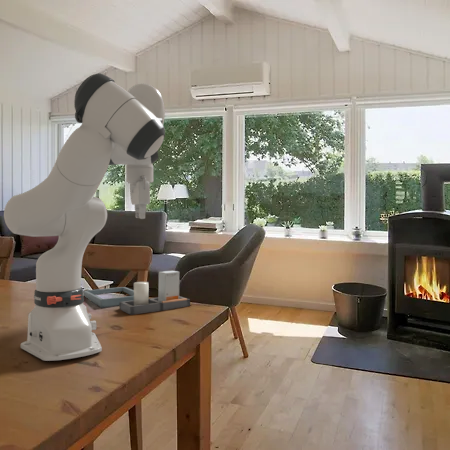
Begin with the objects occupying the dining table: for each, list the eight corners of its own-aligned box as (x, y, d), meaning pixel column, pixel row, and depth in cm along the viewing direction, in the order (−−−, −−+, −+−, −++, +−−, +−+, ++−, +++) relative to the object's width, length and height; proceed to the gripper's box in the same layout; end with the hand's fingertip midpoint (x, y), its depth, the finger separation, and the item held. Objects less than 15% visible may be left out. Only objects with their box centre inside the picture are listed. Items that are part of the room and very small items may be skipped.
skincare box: (165, 308, 153) (165, 273, 153) (158, 306, 156) (157, 271, 156) (179, 306, 157) (179, 271, 157) (172, 304, 160) (172, 270, 160)
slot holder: (190, 306, 156) (190, 298, 156) (130, 314, 144) (130, 305, 144) (177, 302, 164) (177, 294, 164) (119, 309, 152) (119, 300, 152)
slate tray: (145, 303, 161) (145, 294, 161) (101, 308, 153) (101, 299, 152) (124, 294, 178) (124, 286, 178) (83, 298, 169) (83, 290, 169)
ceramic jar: (151, 310, 150) (150, 283, 150) (137, 312, 148) (137, 284, 147) (144, 307, 154) (144, 281, 154) (131, 309, 152) (131, 282, 151)
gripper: (154, 175, 143) (154, 219, 144) (145, 178, 163) (145, 217, 163) (134, 174, 142) (134, 219, 142) (127, 178, 161) (127, 217, 162)
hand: (140, 218), depth 153 cm, fingers open, 8 cm apart
